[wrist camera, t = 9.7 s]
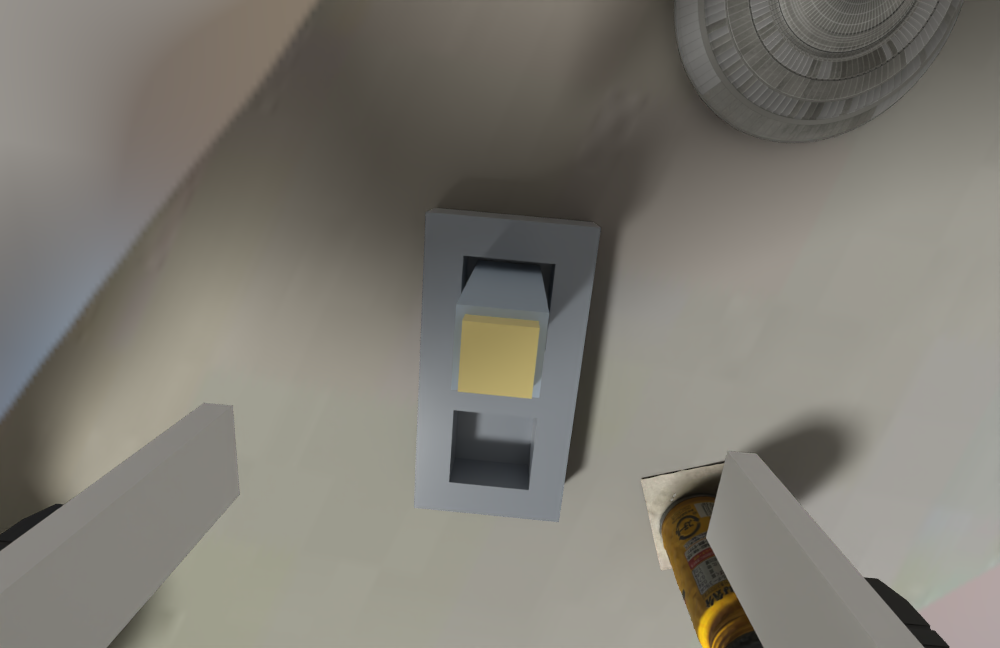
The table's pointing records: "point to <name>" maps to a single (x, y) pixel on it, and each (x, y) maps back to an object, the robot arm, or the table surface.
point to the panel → (490, 418)
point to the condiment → (696, 555)
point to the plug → (501, 331)
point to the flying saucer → (808, 60)
